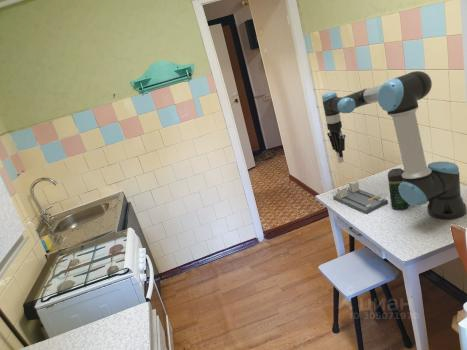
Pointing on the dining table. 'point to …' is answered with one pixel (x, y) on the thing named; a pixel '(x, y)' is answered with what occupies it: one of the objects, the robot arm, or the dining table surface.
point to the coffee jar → (396, 189)
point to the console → (361, 201)
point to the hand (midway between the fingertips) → (340, 162)
